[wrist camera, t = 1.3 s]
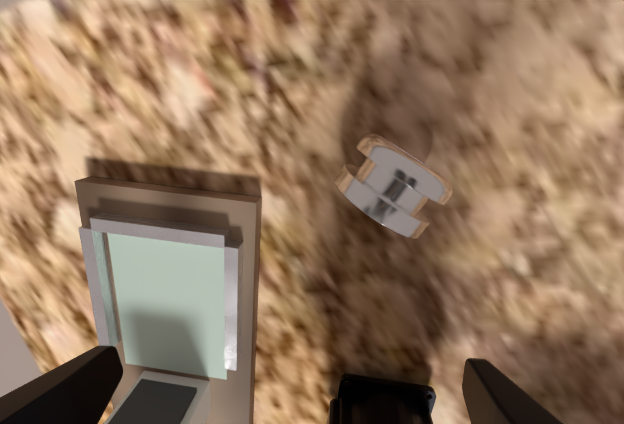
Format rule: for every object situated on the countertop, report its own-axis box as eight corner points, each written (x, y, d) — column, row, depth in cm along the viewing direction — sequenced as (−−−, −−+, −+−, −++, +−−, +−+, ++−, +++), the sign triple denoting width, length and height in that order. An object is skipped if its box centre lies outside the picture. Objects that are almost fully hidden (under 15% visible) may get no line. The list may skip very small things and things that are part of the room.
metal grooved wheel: (335, 170, 18) (332, 194, 13) (365, 125, 17) (372, 132, 12) (407, 215, 18) (429, 254, 13) (440, 173, 17) (476, 198, 12)
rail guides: (243, 230, 18) (238, 237, 17) (241, 359, 21) (236, 370, 20) (90, 210, 19) (76, 216, 18) (110, 338, 22) (99, 348, 21)
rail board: (261, 197, 19) (255, 203, 17) (252, 429, 25) (247, 446, 24) (90, 176, 19) (73, 181, 18) (125, 407, 26) (114, 422, 25)
